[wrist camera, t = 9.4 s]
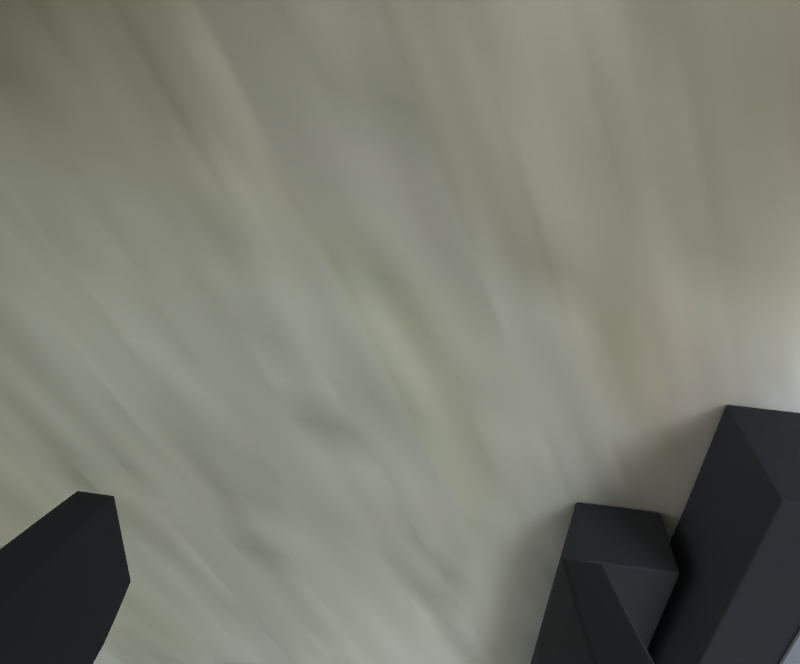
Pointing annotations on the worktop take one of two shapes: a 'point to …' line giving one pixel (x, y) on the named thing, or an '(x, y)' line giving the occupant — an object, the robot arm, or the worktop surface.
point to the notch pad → (626, 559)
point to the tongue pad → (739, 549)
